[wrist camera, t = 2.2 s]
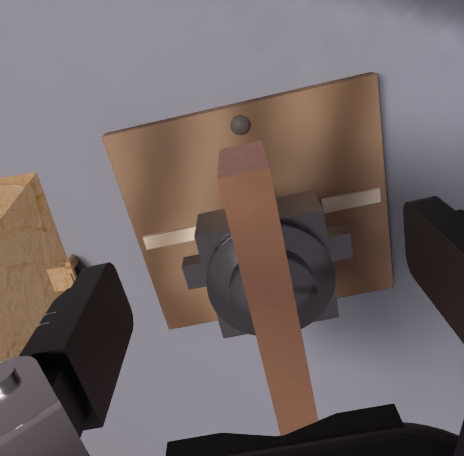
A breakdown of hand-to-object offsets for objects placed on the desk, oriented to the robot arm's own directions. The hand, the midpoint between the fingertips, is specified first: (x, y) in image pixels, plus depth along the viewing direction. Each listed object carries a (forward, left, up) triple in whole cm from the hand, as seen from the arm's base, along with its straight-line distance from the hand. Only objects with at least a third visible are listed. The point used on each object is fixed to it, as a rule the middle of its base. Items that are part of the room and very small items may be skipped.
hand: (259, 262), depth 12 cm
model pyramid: (+23, +8, -20) cm, 31 cm away
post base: (0, +7, -19) cm, 20 cm away
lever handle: (0, +7, -12) cm, 14 cm away
